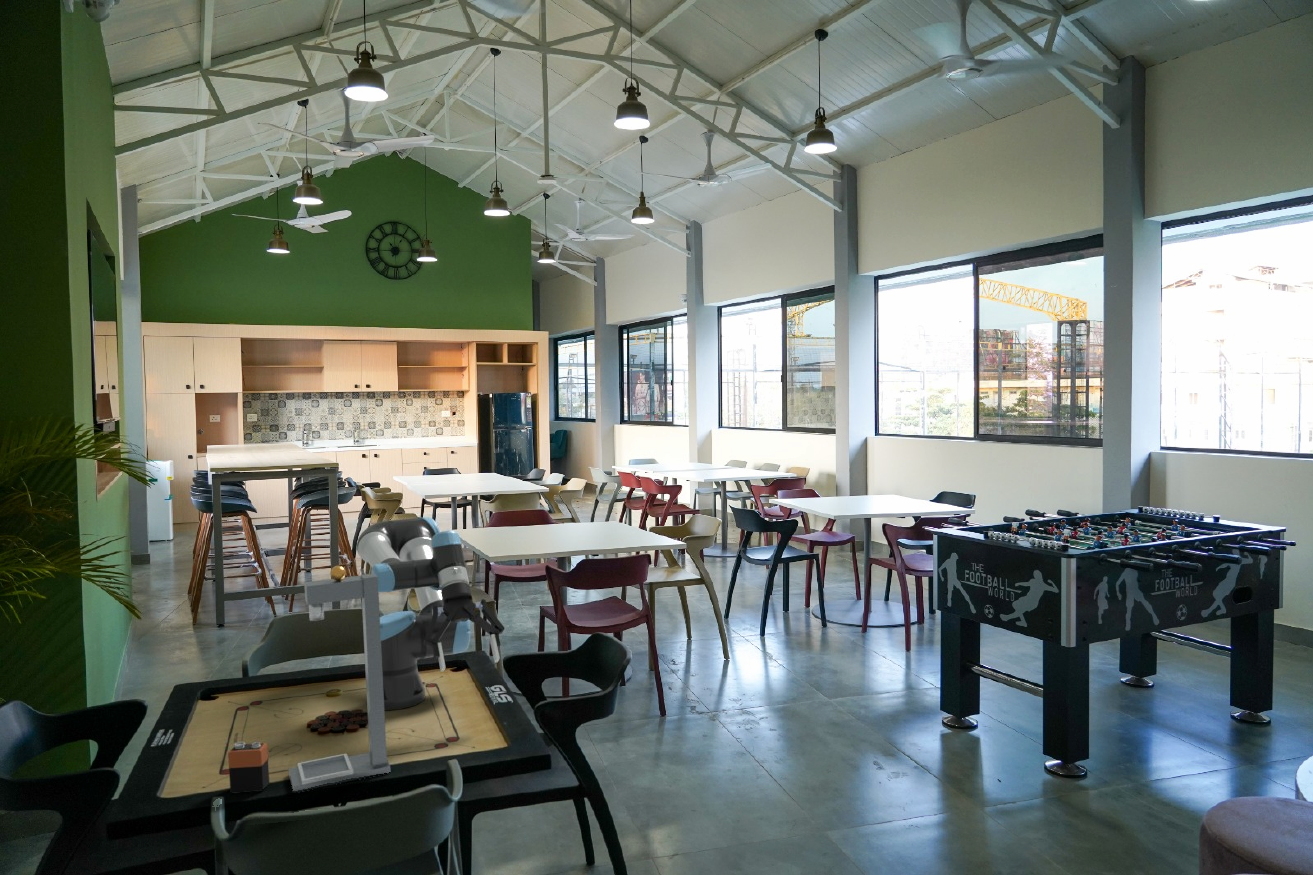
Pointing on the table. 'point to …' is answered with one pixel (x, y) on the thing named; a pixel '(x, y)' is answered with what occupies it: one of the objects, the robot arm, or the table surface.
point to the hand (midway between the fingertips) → (470, 665)
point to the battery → (248, 767)
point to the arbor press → (376, 759)
